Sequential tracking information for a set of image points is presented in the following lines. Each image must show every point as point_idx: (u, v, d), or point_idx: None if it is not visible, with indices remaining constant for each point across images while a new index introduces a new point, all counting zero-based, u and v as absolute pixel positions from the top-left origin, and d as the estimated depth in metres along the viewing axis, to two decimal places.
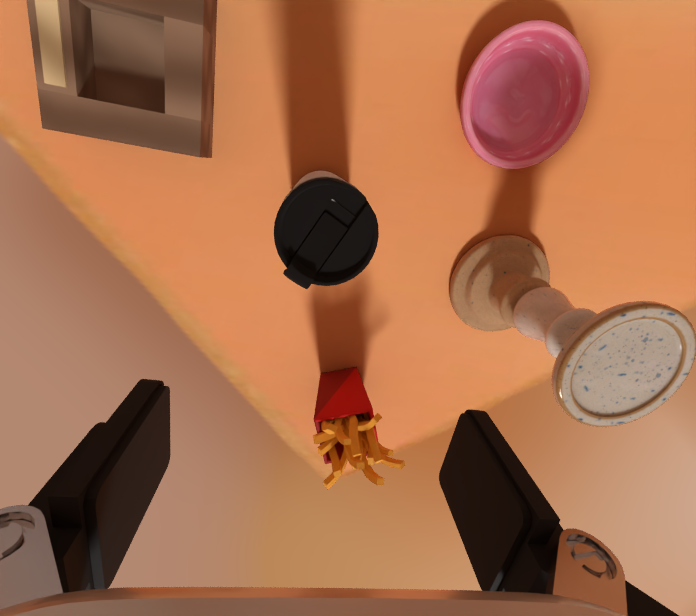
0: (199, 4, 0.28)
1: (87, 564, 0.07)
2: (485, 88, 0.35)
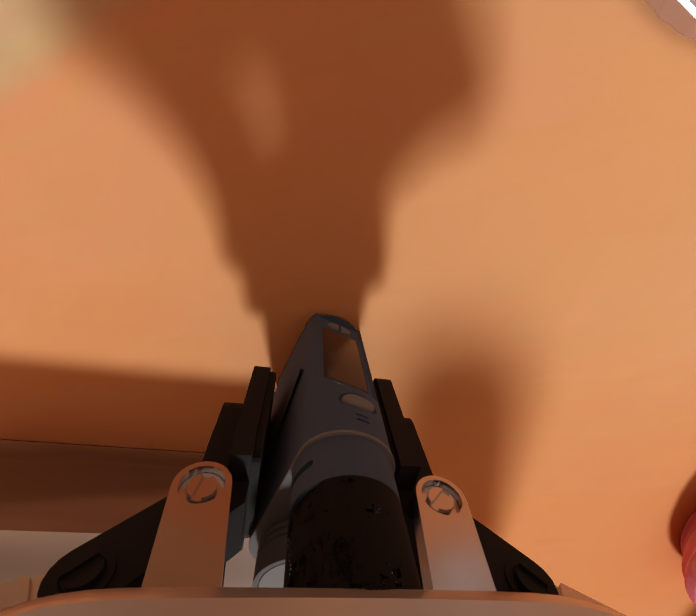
0: None
1: (245, 513, 0.09)
2: None
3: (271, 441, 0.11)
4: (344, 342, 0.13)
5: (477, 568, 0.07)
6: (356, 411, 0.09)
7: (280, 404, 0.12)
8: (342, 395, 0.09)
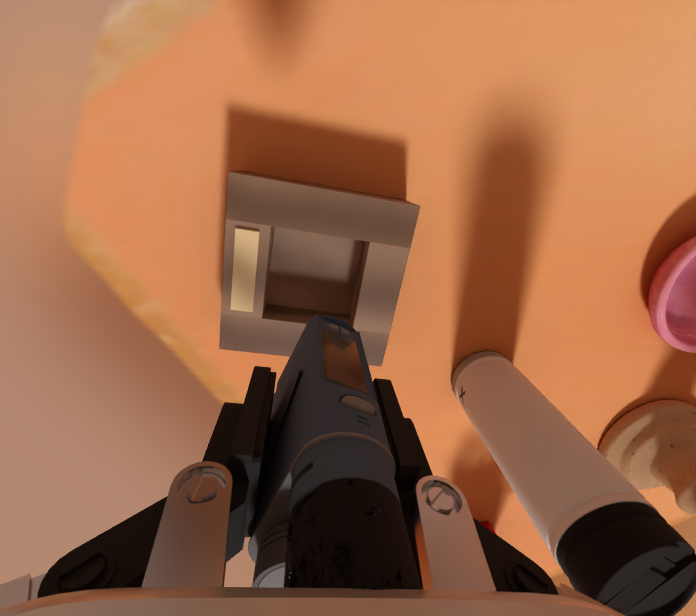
0: (410, 229, 0.25)
1: (246, 513, 0.09)
2: None
3: (271, 443, 0.11)
4: (344, 343, 0.13)
5: (477, 568, 0.07)
6: (356, 413, 0.09)
7: (280, 405, 0.12)
8: (342, 397, 0.09)
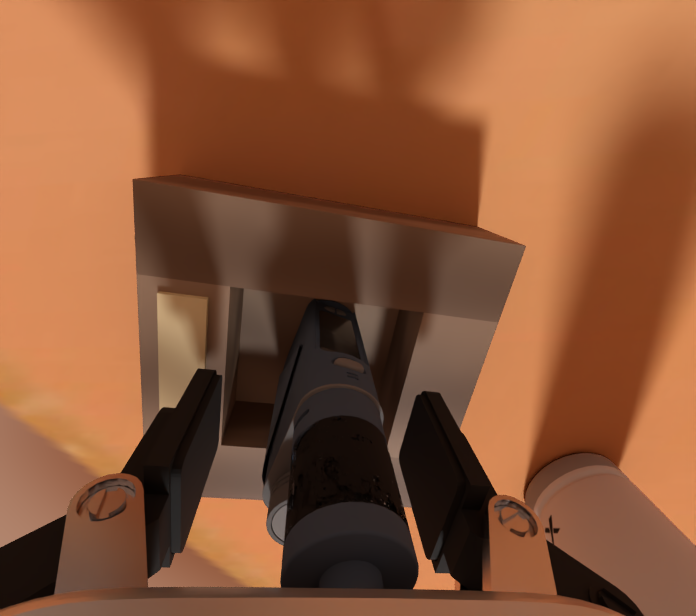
0: (502, 289, 0.13)
1: (168, 528, 0.08)
2: None
3: (278, 410, 0.12)
4: (339, 321, 0.14)
5: None
6: (346, 370, 0.10)
7: (285, 379, 0.13)
8: (335, 359, 0.10)
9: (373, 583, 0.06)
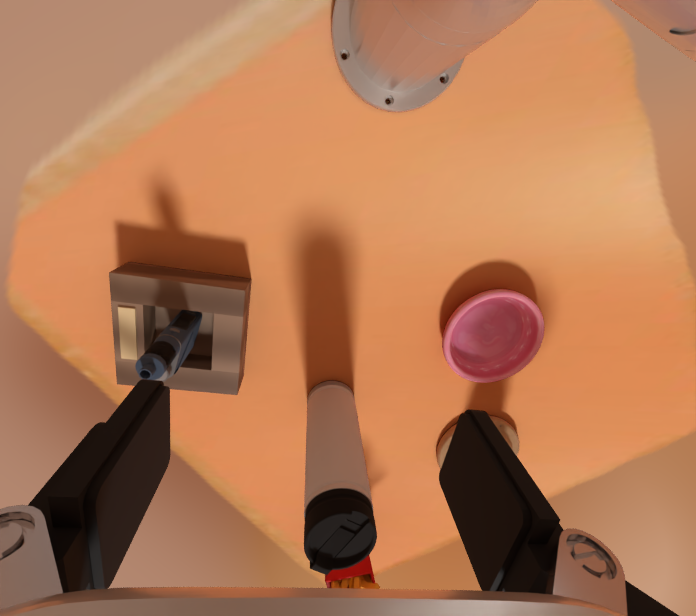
0: (240, 305, 0.37)
1: (86, 564, 0.07)
2: (463, 324, 0.44)
3: None
4: (189, 317, 0.38)
5: None
6: (171, 331, 0.34)
7: None
8: None
9: (151, 365, 0.30)
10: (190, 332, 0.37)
